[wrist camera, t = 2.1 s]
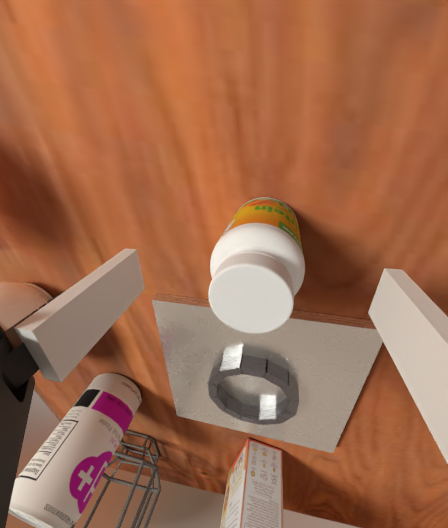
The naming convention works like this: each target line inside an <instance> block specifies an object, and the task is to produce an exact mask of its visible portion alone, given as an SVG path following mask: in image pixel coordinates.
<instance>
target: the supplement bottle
mask: <svg viewBox="0 0 448 528" xmlns="http://www.w3.org/2000/svg"><path fill="white" fill-rule="evenodd" d="M210 271H211V276H212V281H211V284H210V287H209V294H208V296H209V302H210V306H211V308H212V310H213V312H214V313H215V315H216V316H217V317H218V318H219V319H220V320H221V321H222V322H223V323H225V324H226V325H228V326H229V327H231V328H233V329H235V330H238V331H241V332H245V333H254V334H259V333H266V332H270V331H272V330H275V329H277V328H279V327H280V326H282V325H283V324H284V323H285V322H286V321H287V320H288V319H289V317H290V315H291V313H292V311H293V307H294V296H295V295H296V293H297V292H298V291H299V289H300V287H301V285H302V283H303V279H304V274H305V261H304V255H303V250H302V244H301V238H300V232H299V226H298V222H297V218H296V216H295V214H294V213H293V211H292V210H291V209H290V208H289V207H288V206H287V205H286V204H285V203H283V202H282V201H279V200H277V199H274V198H268V197H262V198H256V199H253V200H251V201H249V202H247V203H245V204H244V205H243V206H242V207H241V208H240V209H239V210H238V211H237V212H236V214H235V215H234V217H233V219H232V220H231V222H230V223H229V225H228V227H227V228H226V230H225V232H224V233H223V235H222V236H221V238H220V239H219V241H218V242H217V244H216V246H215V248H214V250H213V252H212V256H211V261H210Z"/></svg>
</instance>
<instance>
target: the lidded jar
mask: <svg viewBox="0 0 448 528" xmlns="http://www.w3.org/2000/svg"><path fill="white" fill-rule="evenodd" d="M52 298H53V297H52V296H51V295H50V294H49V293H48V292H47V291H45V290H44V289H42V288H41V287H39V286H37V285H35V284H32V283H17V282H0V326H1V328H2V329H3V331H4V332H5V331H6V330H8V329H9V328H11V327H12V326H13V325H15V324H16V323H18V322H19V321H21V320H22V319H23V318H25V317H26V316H28V315H29V314H30V313H32V312H33V311H35V310H36V309H39V307H40V306H42V305H43V304H45V303H47V302H48V301H49V300H50V299H52Z"/></svg>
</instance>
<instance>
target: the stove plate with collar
mask: <svg viewBox="0 0 448 528" xmlns="http://www.w3.org/2000/svg"><path fill="white" fill-rule="evenodd" d="M152 303H153V307H154V312H155V317H156V321H157V326H158V330H159V335H160V339H161V344H162V349H163V353H164V358H165V362H166V367H167V372H168V376H169V381H170V385H171V390H172V395H173V399H174V404H175V408H176V413H177V416H180V417H184V418H188V419H192V420H197V421H201V422H205V423H209V424H213V425H217V426H222V427H226V428H230V429H234V430H238V431H243V432H247V433H251V434H255V435H259V436H263V437H268V438H272V439H276V440H280V441H284V442H289V443H293V444H297V445H301V446H305V447H309V448H314V449H318V450H322V451H326V452H330V453H333V452H334V449H335V447H336V445H337V443H338V441H339V438H340V436H341V434H342V432H343V429H344V427H345V425H346V423H347V421H348V418H349V416H350V414H351V412H352V409H353V407H354V405H355V403H356V401H357V398H358V396H359V394H360V392H361V389H362V387H363V385H364V383H365V380H366V378H367V376H368V374H369V372H370V369H371V367H372V365H373V363H374V360H375V358H376V356H377V354H378V352H379V349H380V347H381V345H382V343H383V340H382V338H381V336H380V335H379V333H378V331H377V329H376V327H375V325H374V323H373V321H372V320H368V319H360V318H352V317H344V316H336V315H328V314H320V313H312V312H304V311H296V310H293V311H292V313H291V315H290V317H289V319H288V320H287V321H286V322H285V323H284V324H283V325H282V326H280V327H279V328H277V329H275V330H272V331H270V332H266V333H259V334H254V333H245V332H241V331H238V330H235V329H233V328H231V327H229V326H228V325H226V324H225V323H223V322H222V321H221V320H220V319H219V318H218V317H217V316H216V315H215V313H214V312H213V310H212V308H211V306H210V302H209V300H208V299H200V298H192V297H184V296H176V295H168V294H160V293H157V294H156V295H155V297H154V298H153V299H152Z"/></svg>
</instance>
